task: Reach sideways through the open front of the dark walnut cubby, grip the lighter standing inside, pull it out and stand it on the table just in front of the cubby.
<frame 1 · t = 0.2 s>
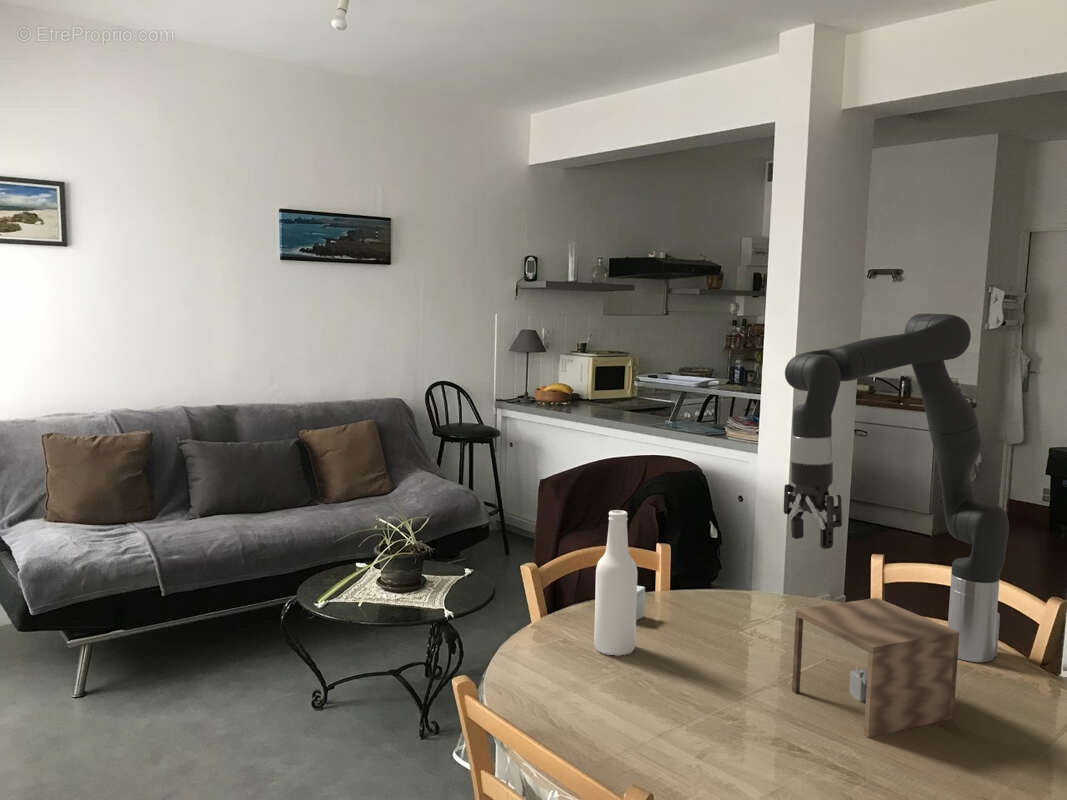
hand: (811, 543, 173), 29 cm above the table, tool pointing down, fingers open, 8 cm apart
product box: (627, 618, 213), on the table
lighter: (862, 701, 170), on the table
alcohol: (614, 649, 193), on the table
open side box: (870, 704, 168), on the table
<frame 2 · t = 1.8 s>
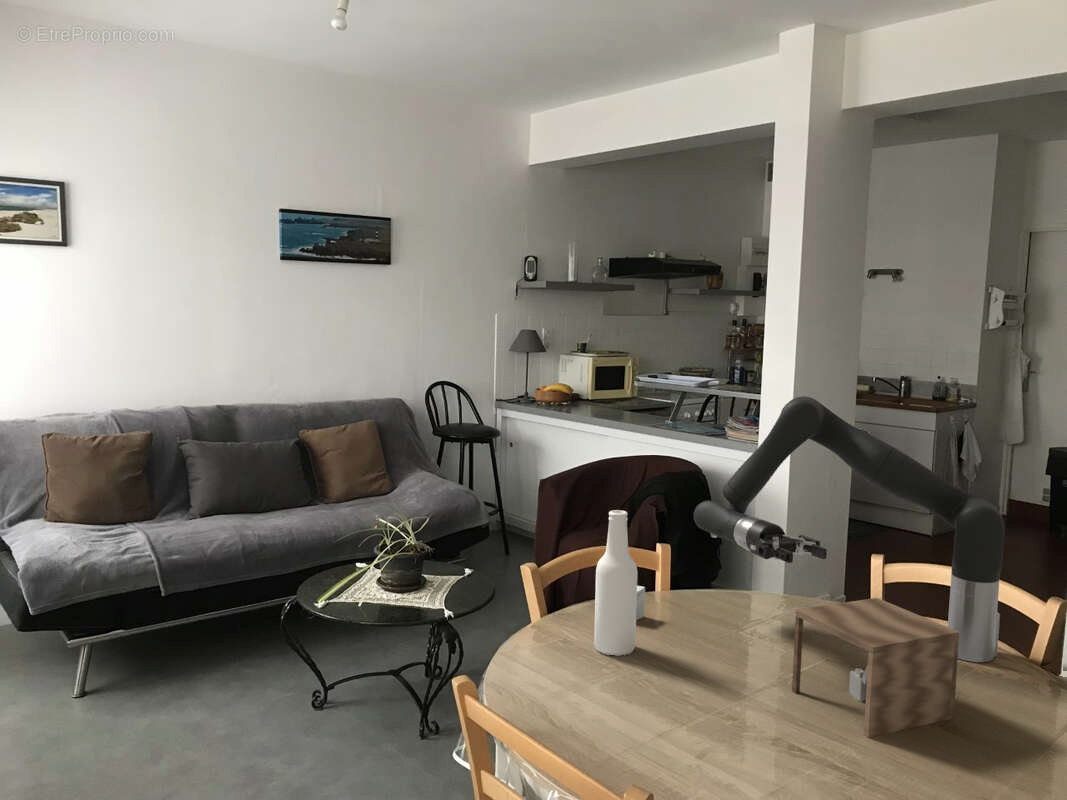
hand: (808, 556, 183), 23 cm above the table, tool horizontal, fingers open, 8 cm apart
nothing on the table moved.
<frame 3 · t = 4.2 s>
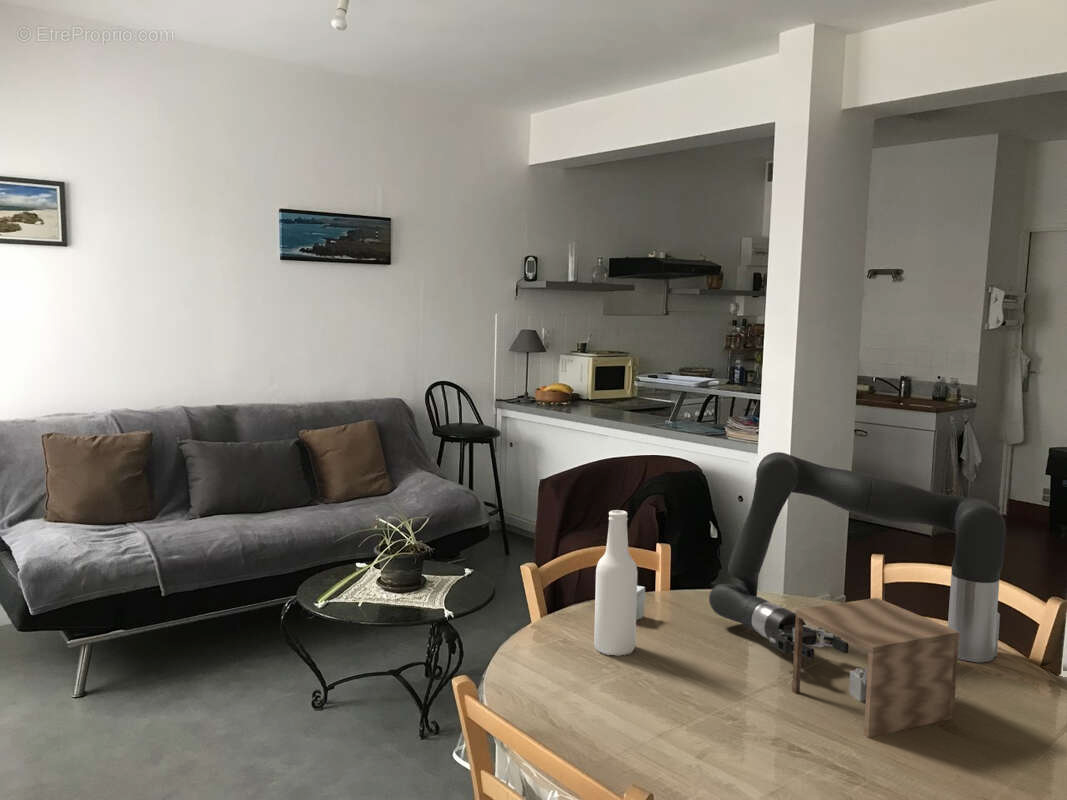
hand: (830, 651, 178), 6 cm above the table, tool horizontal, fingers open, 8 cm apart
nothing on the table moved.
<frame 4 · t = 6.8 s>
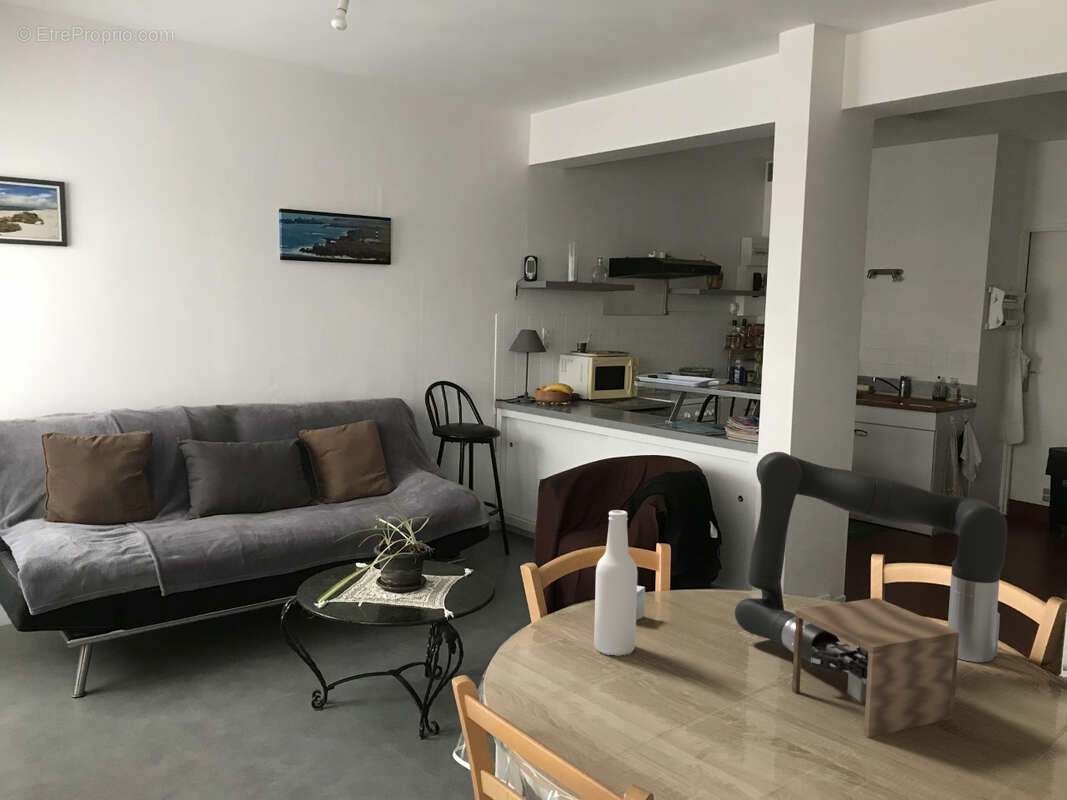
hand: (871, 672, 168), 6 cm above the table, tool horizontal, fingers closed on lighter
lighter: (862, 700, 170), on the table, touching gripper
everything else where it was.
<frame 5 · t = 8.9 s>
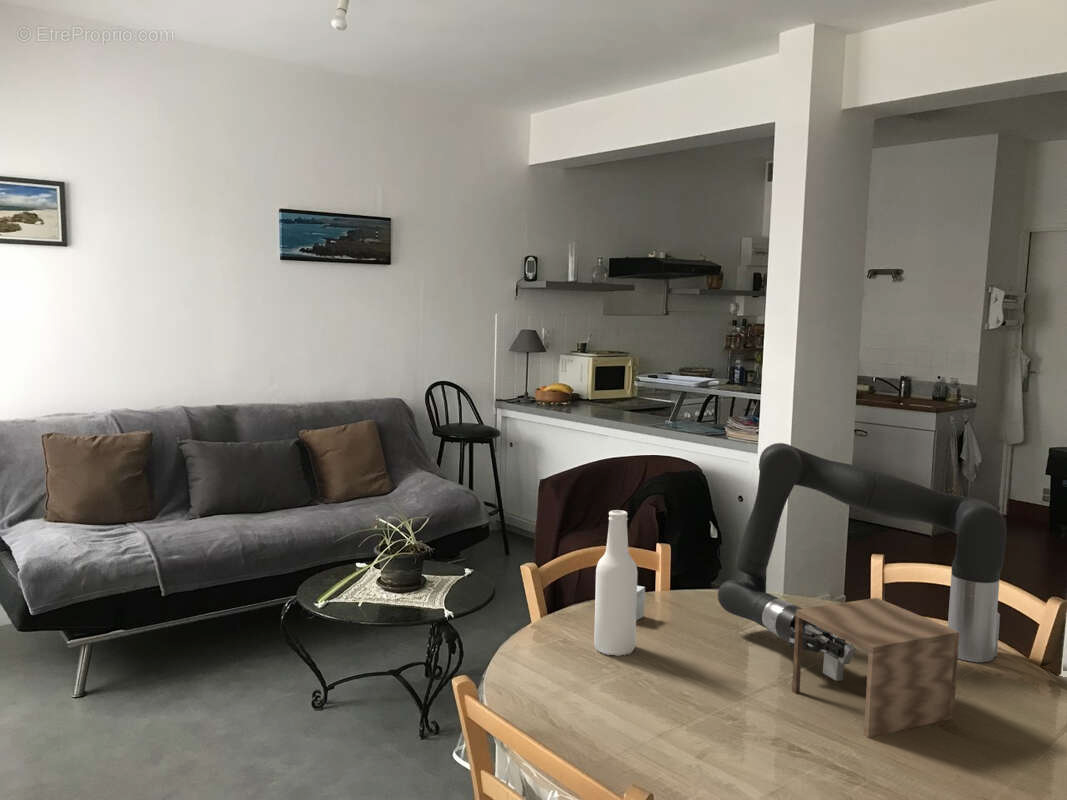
hand: (847, 652, 174), 8 cm above the table, tool horizontal, fingers closed on lighter, 1 cm apart
lighter: (837, 680, 176), point 1 cm above the table, touching gripper
everything else where it was.
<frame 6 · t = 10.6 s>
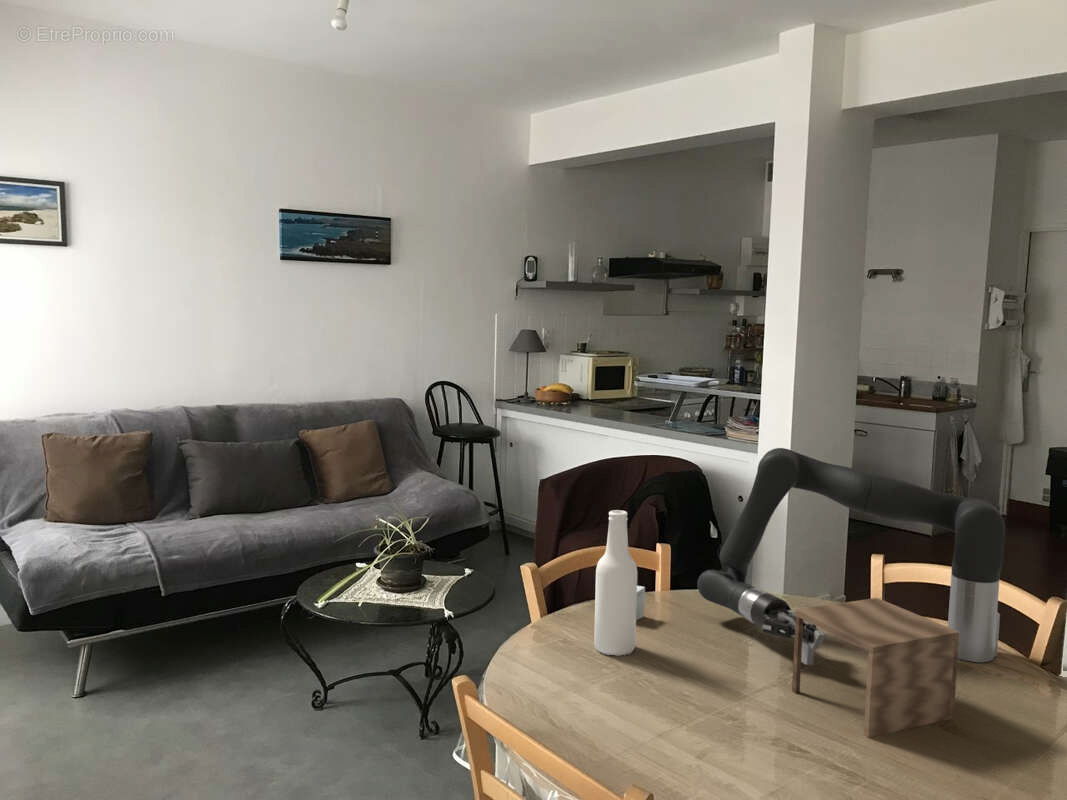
hand: (817, 637, 181), 7 cm above the table, tool horizontal, fingers closed on lighter, 1 cm apart
lighter: (808, 664, 184), point 1 cm above the table, touching gripper
everything else where it was.
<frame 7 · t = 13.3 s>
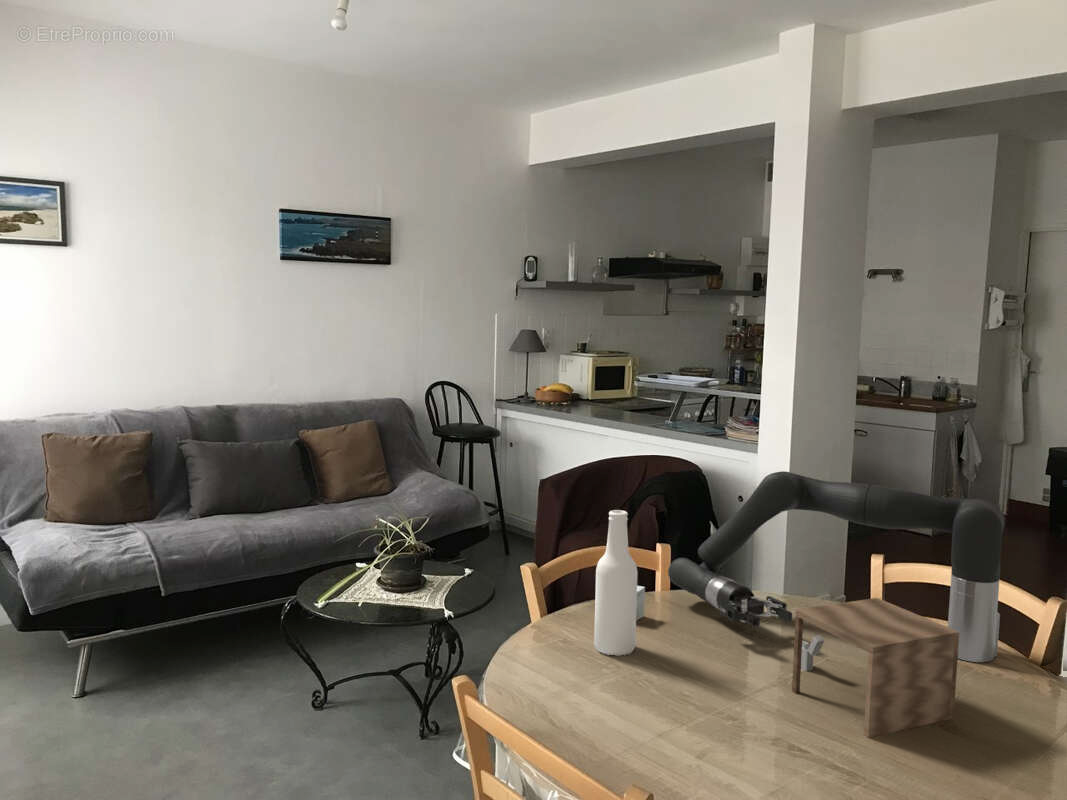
hand: (774, 620, 193), 7 cm above the table, tool horizontal, fingers open, 8 cm apart
lighter: (807, 670, 184), on the table
everything else where it was.
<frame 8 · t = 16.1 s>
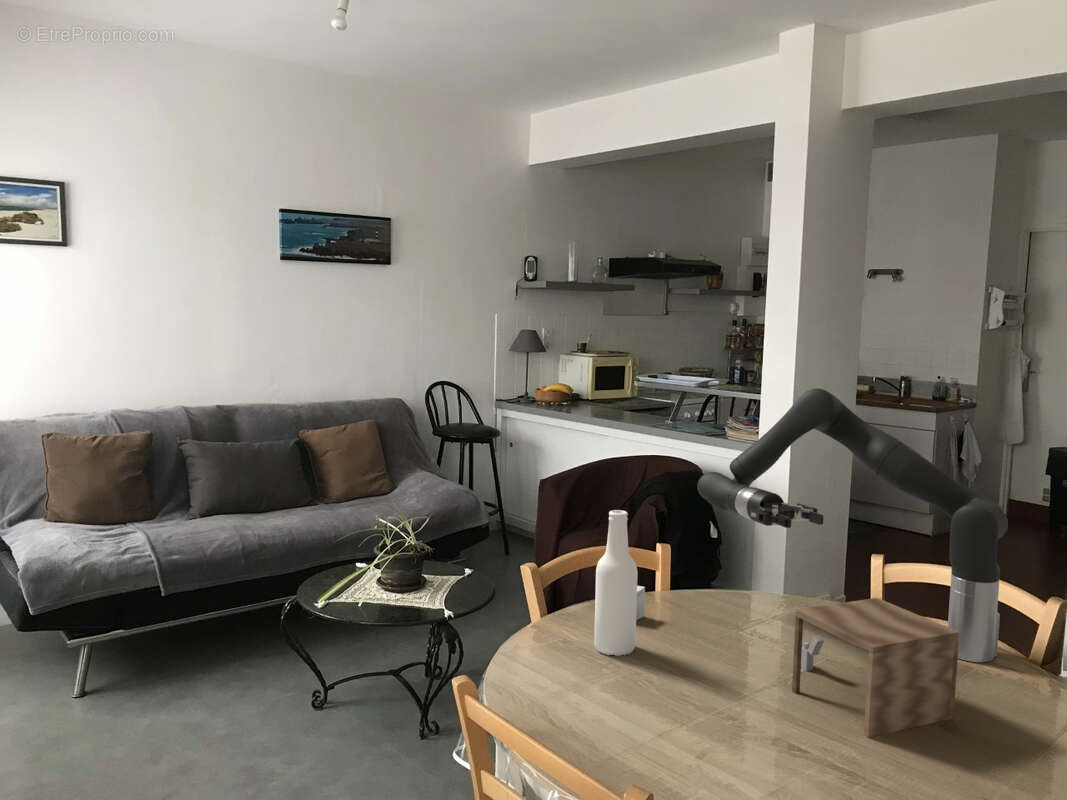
hand: (806, 521, 193), 28 cm above the table, tool horizontal, fingers open, 8 cm apart
nothing on the table moved.
at the end: lighter inside the target area (1.3 cm from its centre), on the table; lighter tilted 0°; the gripper is holding nothing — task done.
